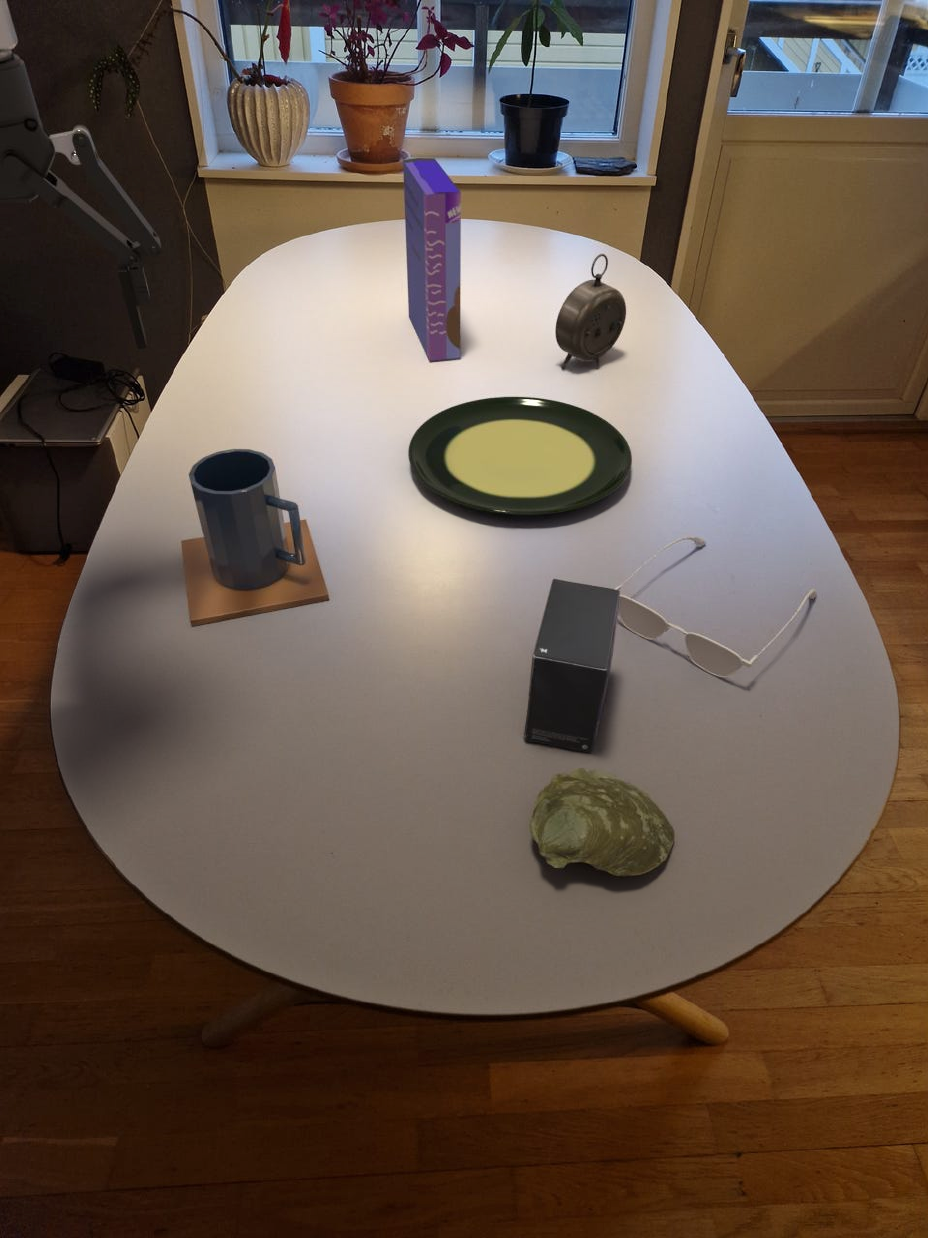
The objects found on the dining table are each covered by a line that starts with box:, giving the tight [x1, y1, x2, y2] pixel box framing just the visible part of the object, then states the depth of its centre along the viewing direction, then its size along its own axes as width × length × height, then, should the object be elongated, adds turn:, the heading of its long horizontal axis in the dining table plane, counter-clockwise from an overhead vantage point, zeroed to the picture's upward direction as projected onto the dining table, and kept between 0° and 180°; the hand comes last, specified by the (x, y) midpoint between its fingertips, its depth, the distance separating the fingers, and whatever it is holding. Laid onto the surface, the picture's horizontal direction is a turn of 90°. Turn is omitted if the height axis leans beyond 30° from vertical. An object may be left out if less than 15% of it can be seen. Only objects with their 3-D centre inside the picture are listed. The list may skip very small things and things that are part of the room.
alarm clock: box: [555, 253, 627, 370], centre depth 126 cm, size 11×5×16 cm, turn 129°
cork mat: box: [180, 518, 330, 627], centre depth 93 cm, size 14×14×1 cm
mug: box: [188, 448, 306, 591], centre depth 88 cm, size 11×8×12 cm
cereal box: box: [402, 157, 462, 363], centre depth 130 cm, size 17×5×24 cm, turn 13°
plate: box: [407, 396, 633, 516], centre depth 109 cm, size 28×28×2 cm
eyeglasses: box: [614, 535, 818, 678], centre depth 88 cm, size 15×18×4 cm
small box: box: [522, 578, 621, 753], centre depth 75 cm, size 11×6×10 cm, turn 167°
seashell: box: [529, 767, 676, 877], centre depth 67 cm, size 10×7×10 cm
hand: (58, 352), depth 73 cm, fingers open, 13 cm apart
